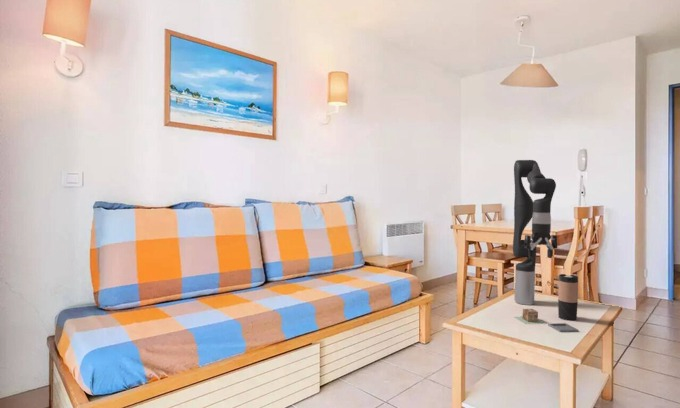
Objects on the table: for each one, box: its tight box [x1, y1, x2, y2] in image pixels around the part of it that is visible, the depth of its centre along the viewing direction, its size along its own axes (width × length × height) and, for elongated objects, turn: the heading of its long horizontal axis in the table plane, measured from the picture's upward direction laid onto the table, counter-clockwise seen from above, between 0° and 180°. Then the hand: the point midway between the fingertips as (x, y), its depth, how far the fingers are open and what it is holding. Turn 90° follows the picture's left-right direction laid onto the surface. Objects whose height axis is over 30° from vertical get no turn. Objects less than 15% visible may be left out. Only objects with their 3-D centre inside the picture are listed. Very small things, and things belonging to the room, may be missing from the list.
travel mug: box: [557, 273, 579, 322], centre depth 175 cm, size 8×8×20 cm
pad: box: [513, 316, 548, 325], centre depth 172 cm, size 10×10×1 cm
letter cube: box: [522, 308, 539, 322], centre depth 172 cm, size 5×4×5 cm
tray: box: [547, 322, 579, 333], centre depth 161 cm, size 8×8×1 cm
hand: (540, 257), depth 174 cm, fingers open, 8 cm apart
